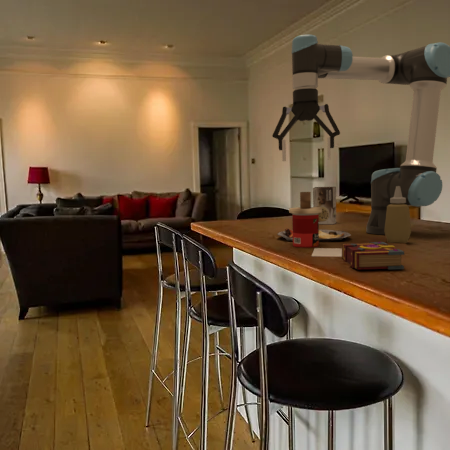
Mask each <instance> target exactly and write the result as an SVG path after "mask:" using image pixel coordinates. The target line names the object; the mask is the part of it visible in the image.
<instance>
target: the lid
mask: <svg viewBox="0 0 450 450" xmlns="http://www.w3.org/2000/svg"><path fill="white" fill-rule="evenodd" d="M311 196H312V192H311V191H300V192H299V199H300V201H299V202H300V203H299V205H300V207H297V206H296V207H289V208H288V212H289V214H293V213H294V214H312V213H321V212H322V208H319V207H313V206H312V205H311V204H312V197H311Z"/></svg>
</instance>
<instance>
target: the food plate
mask: <svg viewBox="0 0 450 450" xmlns="http://www.w3.org/2000/svg"><path fill="white" fill-rule="evenodd" d="M276 235H277V236H280V237H283V239H285V240H286V241H289V242H293V229H289V228H286V229H284V230H282V231H278V233H276ZM350 236H352V234H350V232H349V231H344V230H333V229H319V243H326V242H333V241H342V240H343V239H344V238H345V239H346V238H347V237H350Z"/></svg>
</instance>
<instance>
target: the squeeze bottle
mask: <svg viewBox="0 0 450 450" xmlns="http://www.w3.org/2000/svg"><path fill="white" fill-rule="evenodd" d="M390 203H392V204H390V205H388V206H387V212H386V220H385V229H384V232H385V238H386V242H387V244H399V243H400V244H408V242H409V239H410V236H411V234H412V227H411V216H410V206H409V205H406V204H404V203H406V198H403V197H402V193H401V188H400V186H396V189H395V193H394V197H393V198H390Z"/></svg>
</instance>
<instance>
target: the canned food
mask: <svg viewBox="0 0 450 450" xmlns="http://www.w3.org/2000/svg"><path fill="white" fill-rule="evenodd" d="M291 214H292V217H291V218H292V225H291V226H292V230H293V241H292V247H294V248H302V249H303V248H304V249H305V248H308V249H309V248H318V247H319V243H320V242H319V228H320V227H319V226H320V224H319V214H318V213H312V214H294V213H291Z"/></svg>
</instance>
